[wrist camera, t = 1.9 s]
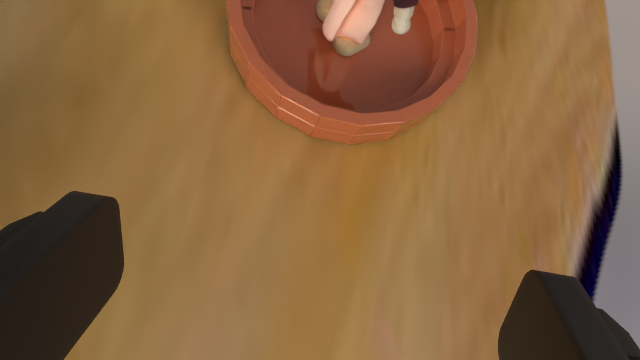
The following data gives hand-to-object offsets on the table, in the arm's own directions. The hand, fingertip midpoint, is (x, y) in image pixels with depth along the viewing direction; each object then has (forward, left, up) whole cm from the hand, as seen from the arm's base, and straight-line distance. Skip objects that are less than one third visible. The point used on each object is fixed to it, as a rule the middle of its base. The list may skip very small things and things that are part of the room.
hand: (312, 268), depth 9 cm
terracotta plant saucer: (-3, +17, -17) cm, 24 cm away
